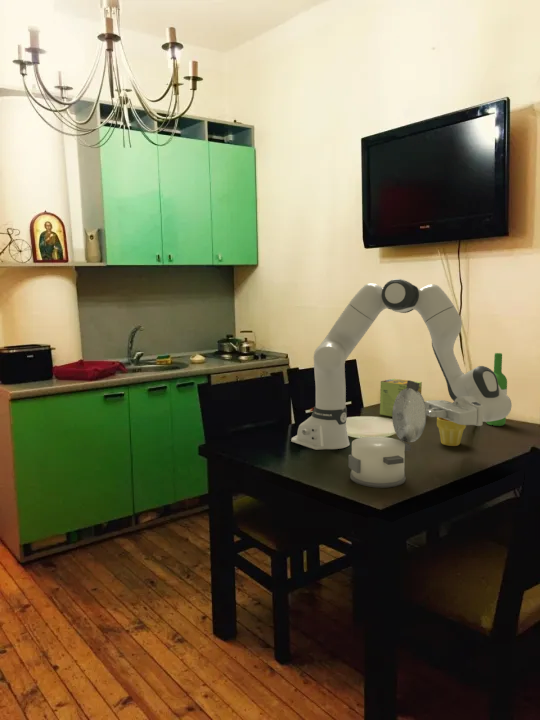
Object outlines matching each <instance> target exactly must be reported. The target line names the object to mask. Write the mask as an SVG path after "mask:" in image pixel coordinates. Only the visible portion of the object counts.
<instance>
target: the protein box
mask: <svg viewBox="0 0 540 720" xmlns="http://www.w3.org/2000/svg"><path fill="white" fill-rule="evenodd" d="M407 382H408V379H400V378H399V379H398V378H391V379H385V380H381V381H380V392H379V393H380V396H379V397H380V398H379V400H380V401H379V402H380V403H379V415H380V416H387V417H392V412H393V406H394V402H395V399H396V397H397V395H398V394H399V393H400V392H401V391H402V390H403V389H406V388H407ZM414 382H417V383H419V389H418V391H419V392H420V393H421V394H422V386H423V385H422V383H423V382H422V381H418V380H417V381H415V380H414Z"/></svg>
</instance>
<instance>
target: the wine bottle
mask: <svg viewBox="0 0 540 720" xmlns="http://www.w3.org/2000/svg"><path fill="white" fill-rule="evenodd" d="M493 357H494V361H493V372H494V373H495V375H496V377H497V381H498V385H499V386H500V388H501V390H502V391H503V392H504V393H505V394H506V395H507V394H508V378H507V377H506V375H505V374H504V373H503V372H502V370H503V369H502V367H503V366H502V365H503V353H501V352H495V353H494V356H493ZM507 396H508V395H507ZM506 419H507V416H506V417H505V418H503V419H500V420H496V421H489V422H485V423H486V424H487V425H489V426H492V425H493V426H494V427H501V426H505V425H506ZM493 426H492V427H493Z"/></svg>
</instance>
